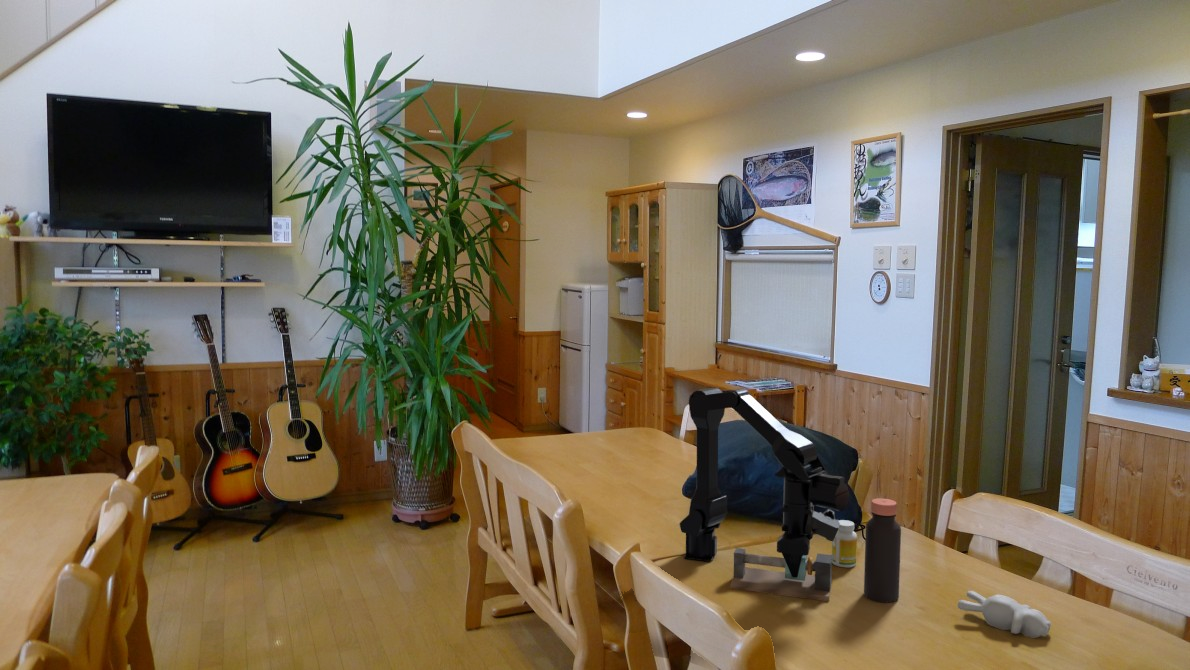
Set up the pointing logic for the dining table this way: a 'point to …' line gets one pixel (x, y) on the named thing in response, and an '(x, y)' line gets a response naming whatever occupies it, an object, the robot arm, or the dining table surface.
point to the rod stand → (782, 576)
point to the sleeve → (801, 572)
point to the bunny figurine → (1008, 614)
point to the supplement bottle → (844, 545)
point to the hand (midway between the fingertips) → (795, 572)
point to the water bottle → (882, 552)
